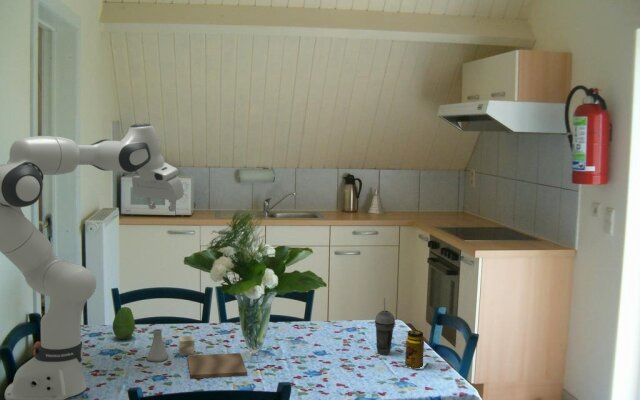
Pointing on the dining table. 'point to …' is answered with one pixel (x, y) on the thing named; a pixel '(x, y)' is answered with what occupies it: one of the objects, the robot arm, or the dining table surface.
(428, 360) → the dining table surface
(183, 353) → the birch cube
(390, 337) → the beverage cup
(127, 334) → the avocado
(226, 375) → the walnut board
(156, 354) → the flask
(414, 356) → the condiment
